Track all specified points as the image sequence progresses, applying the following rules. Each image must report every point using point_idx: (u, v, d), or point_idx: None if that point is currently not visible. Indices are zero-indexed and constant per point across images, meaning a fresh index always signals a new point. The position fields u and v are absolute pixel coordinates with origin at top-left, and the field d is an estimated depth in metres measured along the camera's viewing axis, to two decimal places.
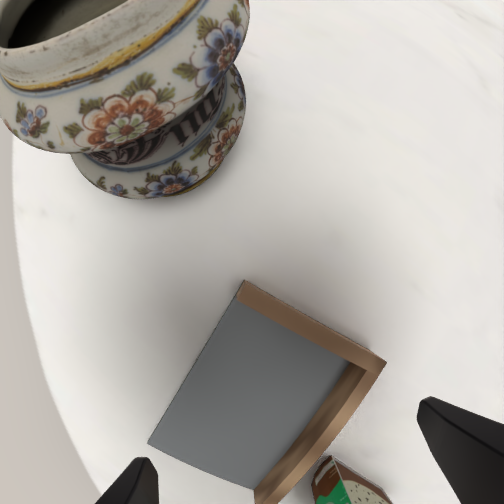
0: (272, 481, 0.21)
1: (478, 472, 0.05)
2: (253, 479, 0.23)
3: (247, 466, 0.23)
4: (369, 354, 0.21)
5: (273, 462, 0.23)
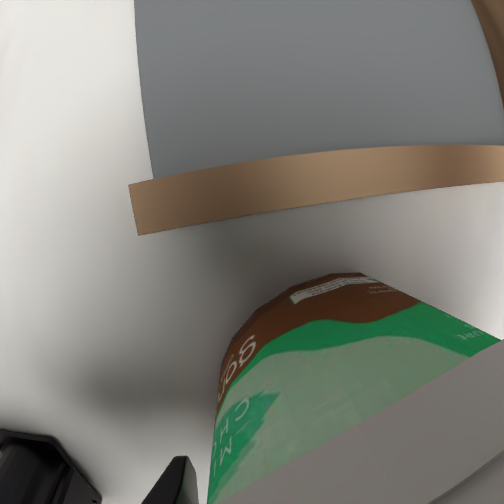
0: None
1: None
2: (190, 150, 0.09)
3: (223, 104, 0.09)
4: None
5: (277, 149, 0.10)
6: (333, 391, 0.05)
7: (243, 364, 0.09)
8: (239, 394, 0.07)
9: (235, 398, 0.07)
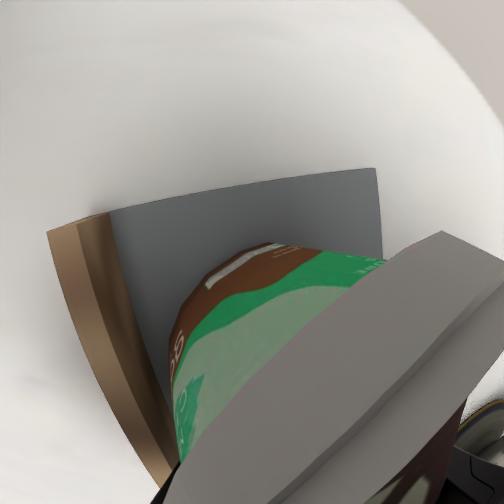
0: (113, 299, 0.10)
1: None
2: (133, 240, 0.12)
3: (172, 266, 0.12)
4: None
5: (140, 307, 0.12)
6: (244, 357, 0.05)
7: (178, 359, 0.09)
8: (179, 387, 0.08)
9: (178, 392, 0.08)
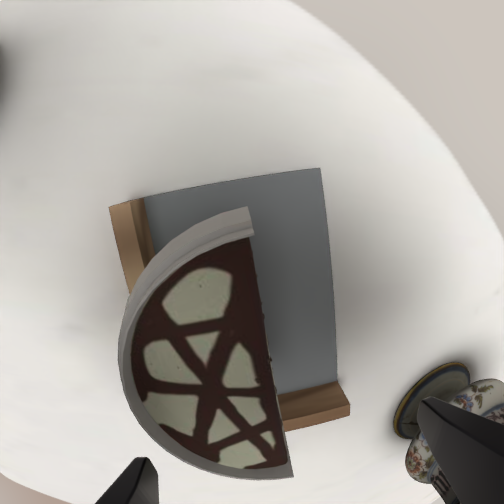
0: (147, 252, 0.17)
1: (478, 472, 0.05)
2: (159, 216, 0.18)
3: None
4: None
5: None
6: None
7: None
8: None
9: None
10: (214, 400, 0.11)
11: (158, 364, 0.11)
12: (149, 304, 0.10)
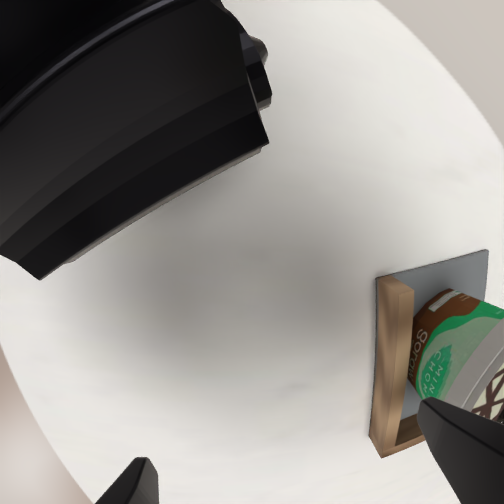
0: None
1: (478, 472, 0.05)
2: None
3: (414, 301, 0.22)
4: (398, 451, 0.22)
5: None
6: (469, 337, 0.16)
7: (425, 341, 0.19)
8: (432, 351, 0.18)
9: (430, 354, 0.18)
10: (485, 410, 0.14)
11: None
12: (489, 368, 0.13)
